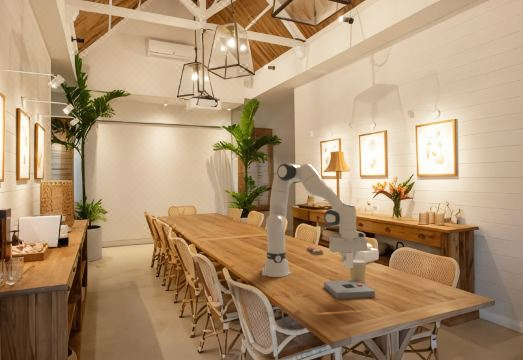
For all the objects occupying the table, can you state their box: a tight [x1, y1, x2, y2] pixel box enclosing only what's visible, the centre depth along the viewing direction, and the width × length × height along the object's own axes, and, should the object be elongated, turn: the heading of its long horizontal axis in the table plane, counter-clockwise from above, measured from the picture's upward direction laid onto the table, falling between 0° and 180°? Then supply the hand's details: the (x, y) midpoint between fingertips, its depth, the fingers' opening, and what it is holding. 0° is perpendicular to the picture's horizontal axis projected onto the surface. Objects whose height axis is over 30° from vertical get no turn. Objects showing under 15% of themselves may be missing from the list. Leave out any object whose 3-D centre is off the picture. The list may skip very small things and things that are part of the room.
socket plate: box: [323, 279, 376, 300], centre depth 185 cm, size 20×20×4 cm
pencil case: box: [306, 246, 324, 256], centre depth 281 cm, size 11×20×5 cm, turn 3°
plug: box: [343, 252, 353, 269], centre depth 186 cm, size 7×4×8 cm, turn 9°
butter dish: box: [352, 242, 380, 264], centre depth 258 cm, size 18×18×16 cm
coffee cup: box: [349, 259, 367, 284], centre depth 204 cm, size 9×9×12 cm
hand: (348, 259), depth 185 cm, fingers closed on plug, 3 cm apart
